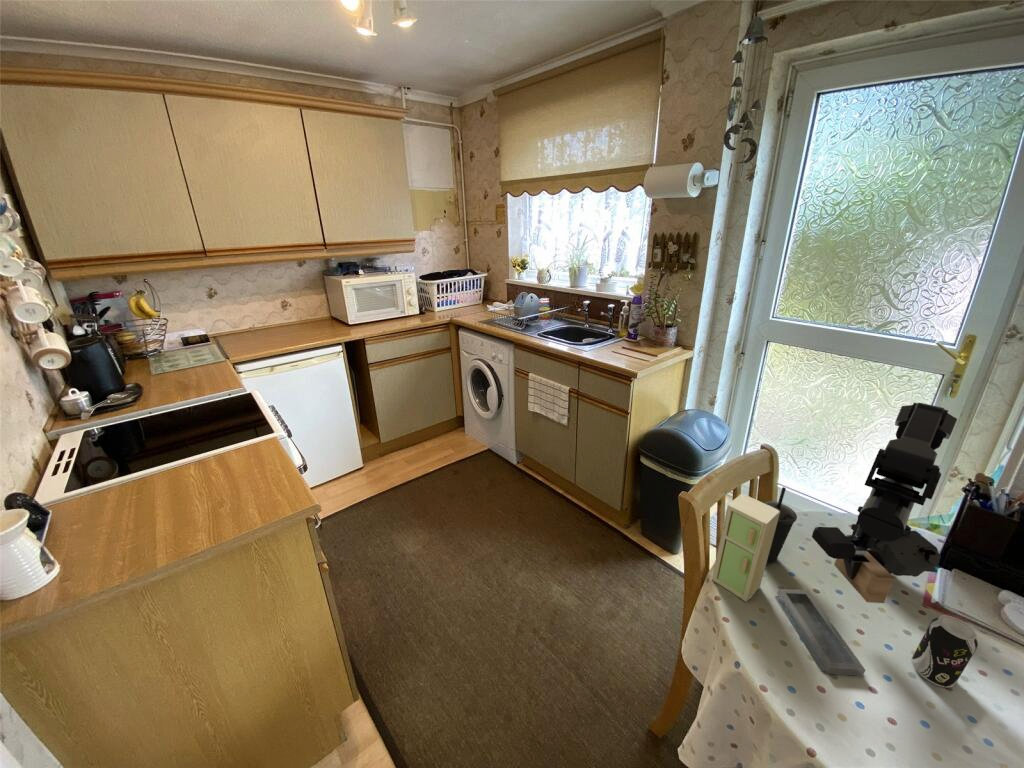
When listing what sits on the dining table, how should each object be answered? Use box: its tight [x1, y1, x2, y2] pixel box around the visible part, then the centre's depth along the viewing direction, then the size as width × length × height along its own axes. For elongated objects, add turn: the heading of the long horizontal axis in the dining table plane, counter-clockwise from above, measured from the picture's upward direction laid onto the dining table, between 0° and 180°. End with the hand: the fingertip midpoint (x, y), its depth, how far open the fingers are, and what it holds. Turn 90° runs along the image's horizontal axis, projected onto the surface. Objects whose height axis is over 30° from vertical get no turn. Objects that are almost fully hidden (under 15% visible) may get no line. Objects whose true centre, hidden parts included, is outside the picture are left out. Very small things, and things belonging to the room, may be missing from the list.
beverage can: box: [911, 614, 979, 689], centre depth 72 cm, size 6×6×12 cm
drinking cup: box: [761, 486, 798, 565], centre depth 96 cm, size 8×8×20 cm
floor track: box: [775, 588, 866, 677], centre depth 81 cm, size 17×7×2 cm, turn 176°
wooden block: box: [833, 552, 895, 604], centre depth 79 cm, size 9×3×6 cm, turn 177°
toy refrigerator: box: [711, 493, 780, 602], centre depth 89 cm, size 8×7×21 cm
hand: (859, 578), depth 79 cm, fingers closed on wooden block, 3 cm apart
